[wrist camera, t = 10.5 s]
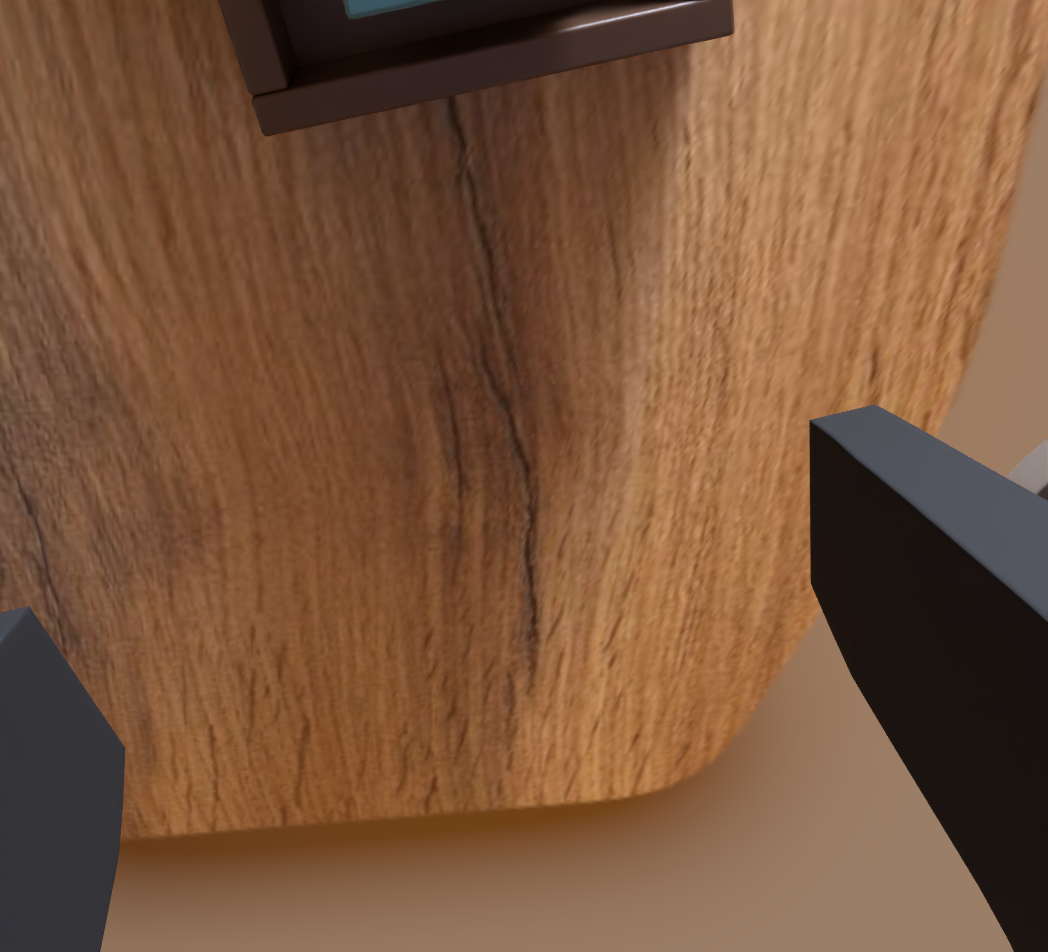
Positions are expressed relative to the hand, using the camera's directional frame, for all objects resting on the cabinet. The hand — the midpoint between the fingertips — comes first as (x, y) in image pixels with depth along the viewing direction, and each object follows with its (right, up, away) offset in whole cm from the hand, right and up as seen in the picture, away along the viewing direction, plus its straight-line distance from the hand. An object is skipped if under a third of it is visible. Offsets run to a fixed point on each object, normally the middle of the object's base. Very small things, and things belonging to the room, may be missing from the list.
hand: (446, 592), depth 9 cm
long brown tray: (-3, +20, -1) cm, 20 cm away
